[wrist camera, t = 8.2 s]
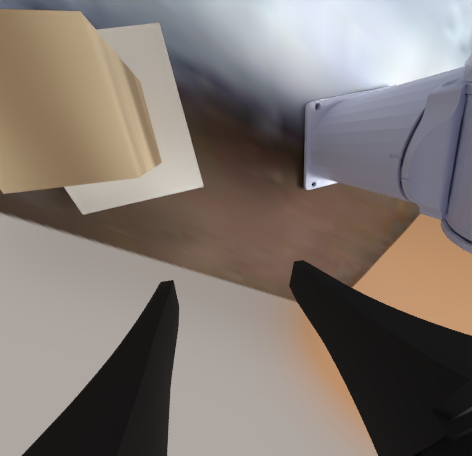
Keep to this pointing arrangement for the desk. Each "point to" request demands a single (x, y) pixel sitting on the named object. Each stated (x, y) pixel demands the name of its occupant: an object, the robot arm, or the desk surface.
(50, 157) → the oak block
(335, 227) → the desk surface
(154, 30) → the base
